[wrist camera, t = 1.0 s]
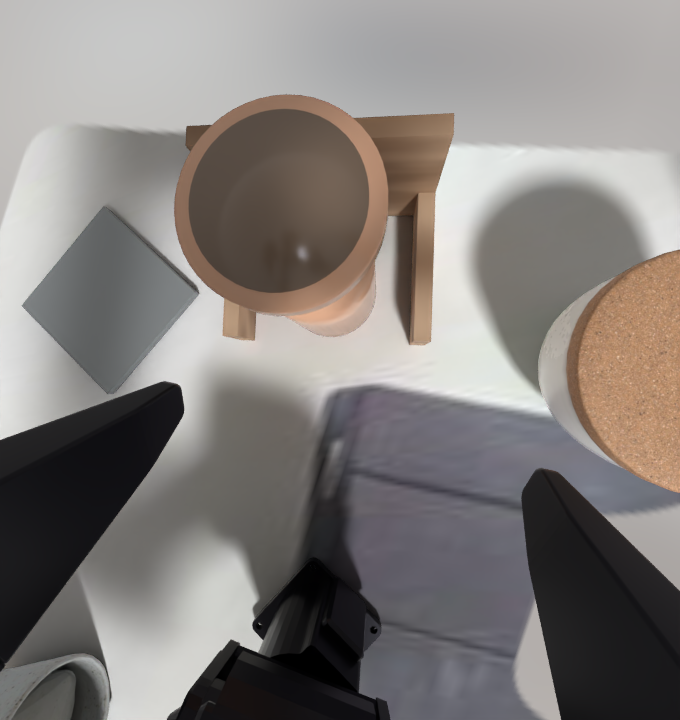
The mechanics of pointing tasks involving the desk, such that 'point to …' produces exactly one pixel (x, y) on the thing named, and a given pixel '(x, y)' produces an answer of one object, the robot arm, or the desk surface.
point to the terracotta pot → (286, 212)
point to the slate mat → (109, 300)
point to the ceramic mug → (56, 690)
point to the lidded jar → (621, 370)
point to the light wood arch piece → (389, 205)
